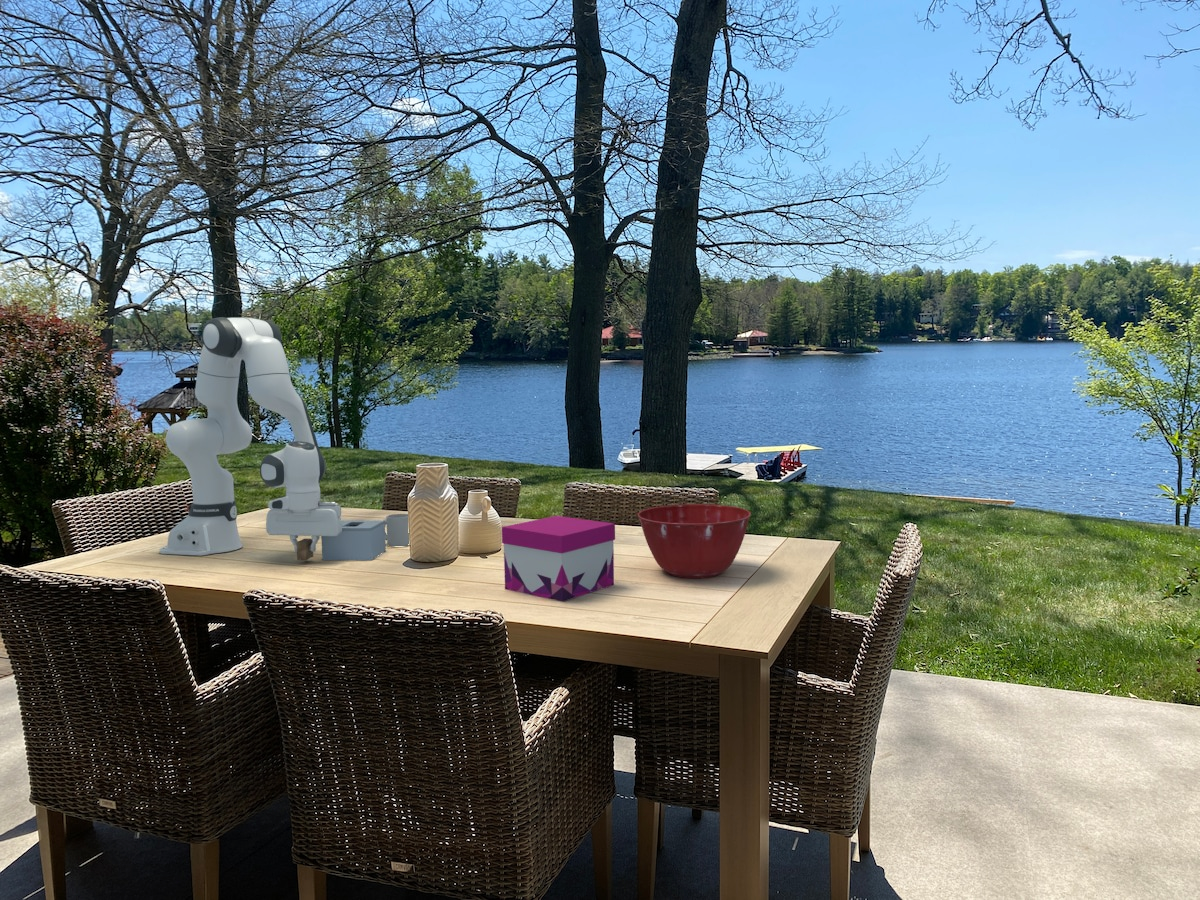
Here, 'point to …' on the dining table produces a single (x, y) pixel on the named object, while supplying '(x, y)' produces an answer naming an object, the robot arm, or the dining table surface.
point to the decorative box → (558, 557)
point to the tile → (304, 549)
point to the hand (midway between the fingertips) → (305, 551)
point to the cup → (397, 530)
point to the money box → (355, 541)
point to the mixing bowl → (694, 537)
